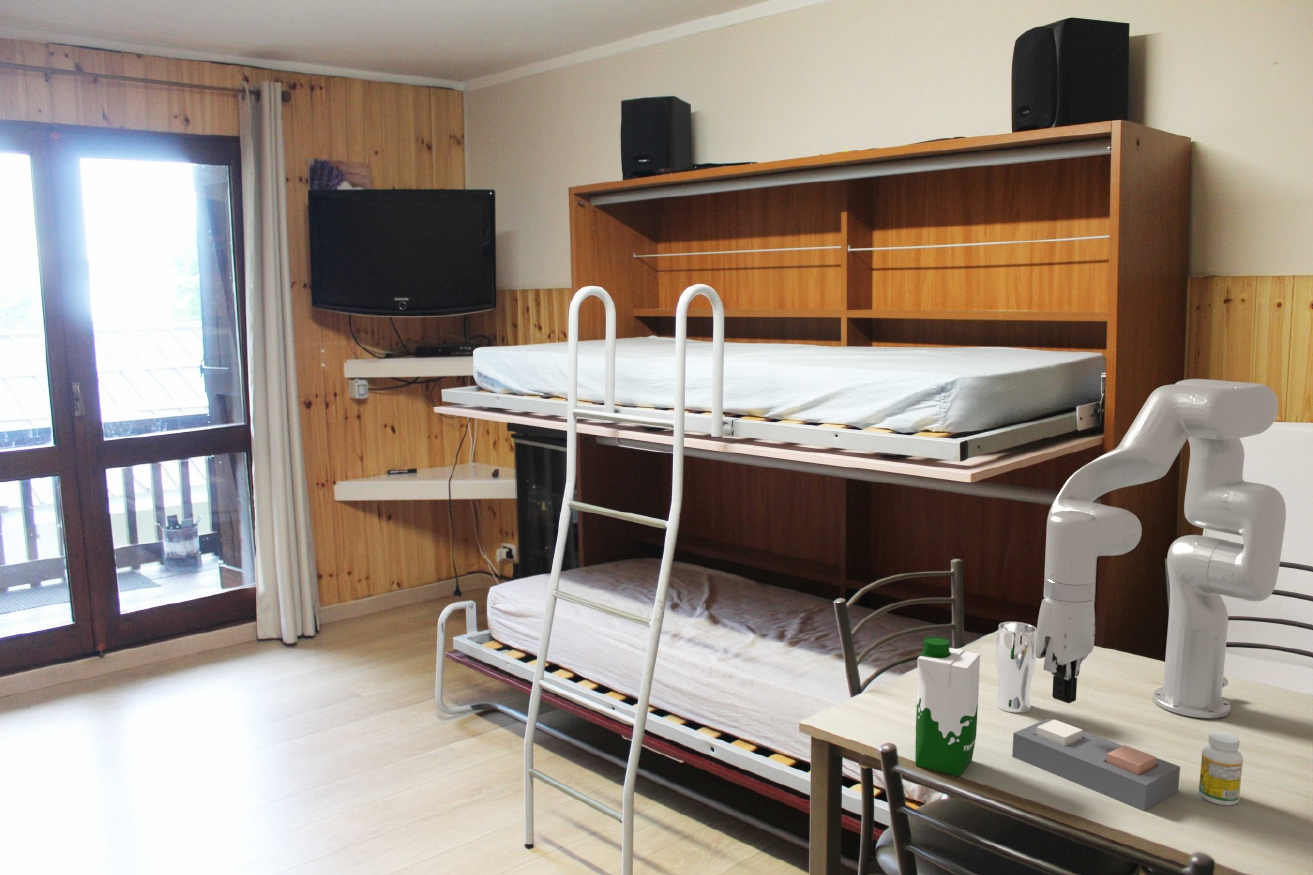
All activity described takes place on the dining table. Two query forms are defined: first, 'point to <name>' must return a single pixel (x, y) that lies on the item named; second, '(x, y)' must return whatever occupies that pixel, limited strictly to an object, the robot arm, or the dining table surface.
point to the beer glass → (1015, 665)
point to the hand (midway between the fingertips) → (1064, 699)
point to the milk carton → (946, 707)
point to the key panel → (1097, 767)
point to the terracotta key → (1131, 760)
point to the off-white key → (1059, 733)
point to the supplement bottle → (1221, 769)
